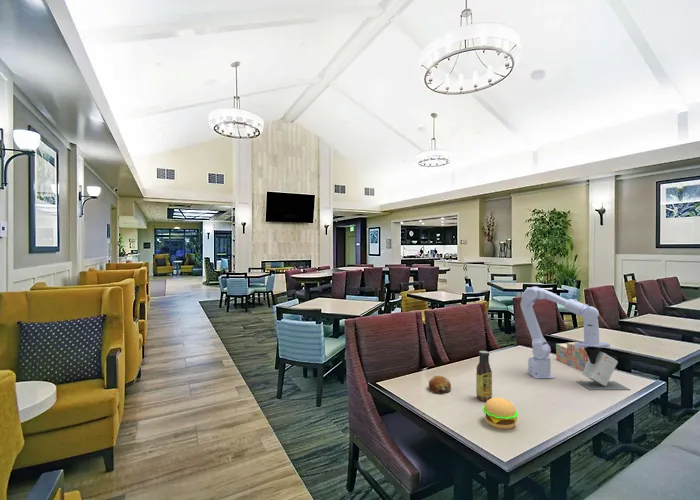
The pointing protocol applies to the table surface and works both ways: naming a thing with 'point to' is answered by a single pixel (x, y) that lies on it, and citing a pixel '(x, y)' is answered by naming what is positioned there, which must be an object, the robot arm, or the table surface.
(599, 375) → the small box
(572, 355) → the stack of blocks
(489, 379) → the sauce bottle
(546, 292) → the robot arm
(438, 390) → the bread roll
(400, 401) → the table surface
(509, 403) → the hamburger
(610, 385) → the mat
